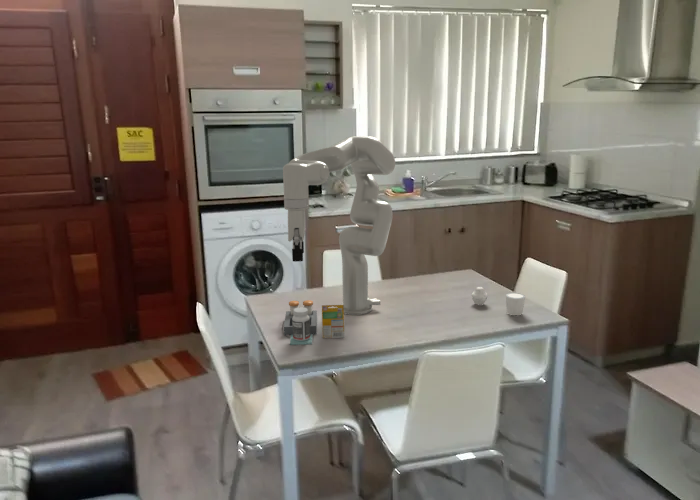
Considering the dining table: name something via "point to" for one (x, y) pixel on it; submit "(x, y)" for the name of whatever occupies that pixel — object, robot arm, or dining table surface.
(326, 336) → the crayon box
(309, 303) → the plunger
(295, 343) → the pad
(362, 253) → the robot arm
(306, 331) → the pill bottle
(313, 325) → the housing
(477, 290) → the white rounded lump
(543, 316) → the dining table surface
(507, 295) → the shot glass
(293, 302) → the plunger
